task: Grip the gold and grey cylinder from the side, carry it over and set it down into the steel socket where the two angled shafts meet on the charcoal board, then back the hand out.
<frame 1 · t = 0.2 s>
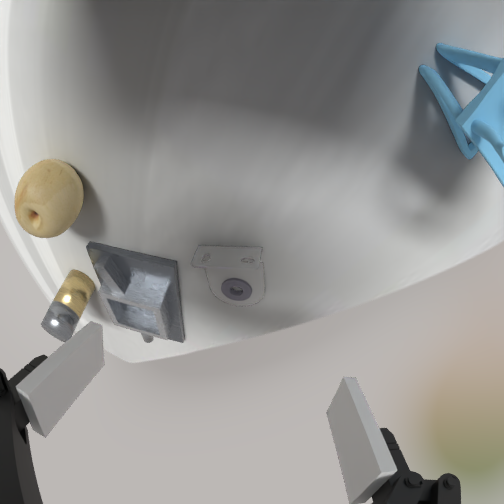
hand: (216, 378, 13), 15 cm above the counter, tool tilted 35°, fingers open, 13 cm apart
bracket: (237, 269, 32), on the counter
chair: (462, 92, 14), on the counter
gold and grey cylinder: (82, 280, 38), on the counter
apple: (67, 179, 24), on the counter
coupling board: (142, 297, 38), on the counter
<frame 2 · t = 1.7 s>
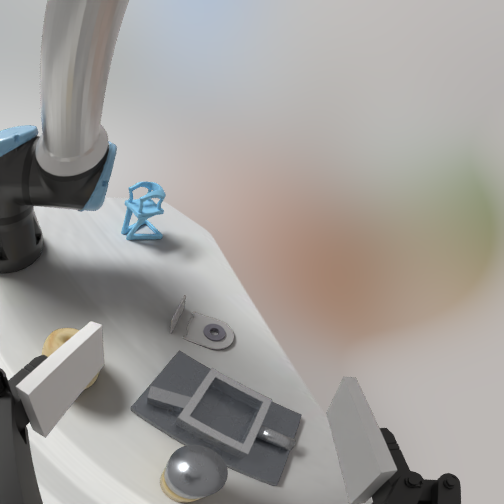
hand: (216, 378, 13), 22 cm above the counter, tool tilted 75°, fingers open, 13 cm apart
bracket: (199, 330, 45), on the counter
chair: (139, 233, 60), on the counter
gold and grey cylinder: (182, 484, 22), on the counter
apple: (74, 373, 28), on the counter
coupling board: (220, 419, 32), on the counter
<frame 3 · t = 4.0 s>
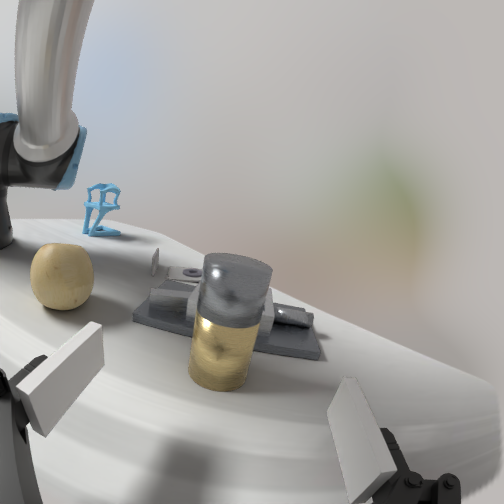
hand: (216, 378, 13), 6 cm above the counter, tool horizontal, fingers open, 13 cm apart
bracket: (178, 276, 46), on the counter
chair: (98, 234, 59), on the counter
gold and grey cylinder: (217, 372, 22), on the counter
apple: (62, 303, 26), on the counter
coupling board: (229, 319, 33), on the counter
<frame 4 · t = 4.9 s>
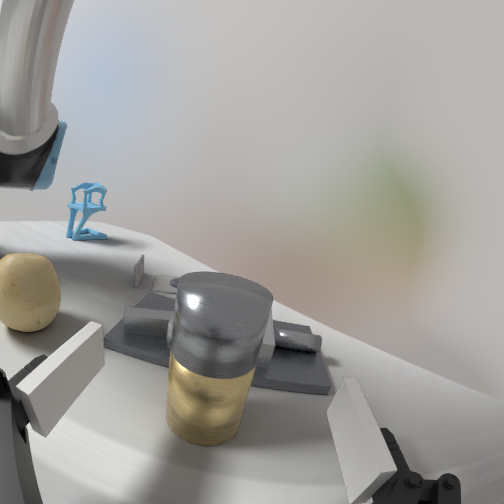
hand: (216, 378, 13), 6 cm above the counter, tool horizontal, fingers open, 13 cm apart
bracket: (165, 287, 40), on the counter
chair: (83, 237, 53), on the counter
gold and grey cylinder: (202, 419, 16), on the counter
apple: (29, 322, 20), on the counter
coupling board: (221, 343, 27), on the counter
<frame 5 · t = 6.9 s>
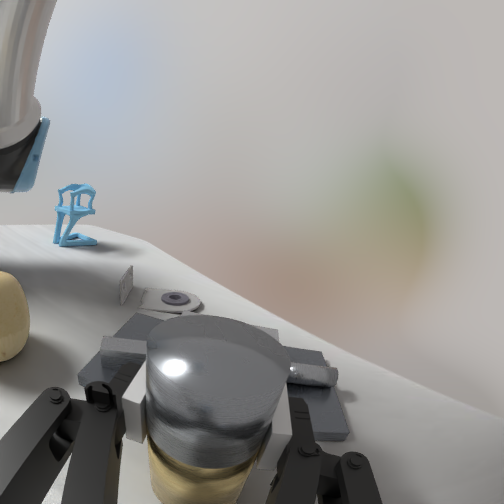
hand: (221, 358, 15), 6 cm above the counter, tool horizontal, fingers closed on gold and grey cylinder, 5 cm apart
bracket: (156, 302, 35), on the counter
chair: (72, 243, 48), on the counter
gold and grey cylinder: (195, 483, 11), on the counter, touching gripper
coupling board: (218, 377, 22), on the counter
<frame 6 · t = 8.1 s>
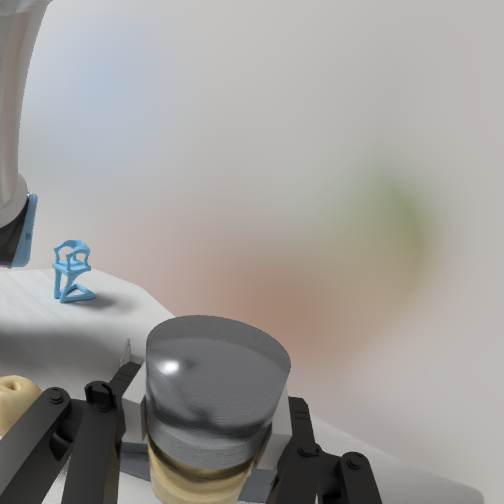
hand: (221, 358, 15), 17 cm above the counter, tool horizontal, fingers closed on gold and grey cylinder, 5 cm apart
bracket: (153, 371, 37), on the counter
chair: (71, 296, 50), on the counter
gold and grey cylinder: (195, 483, 11), point 11 cm above the counter, touching gripper
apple: (28, 431, 17), on the counter
coupling board: (204, 451, 24), on the counter
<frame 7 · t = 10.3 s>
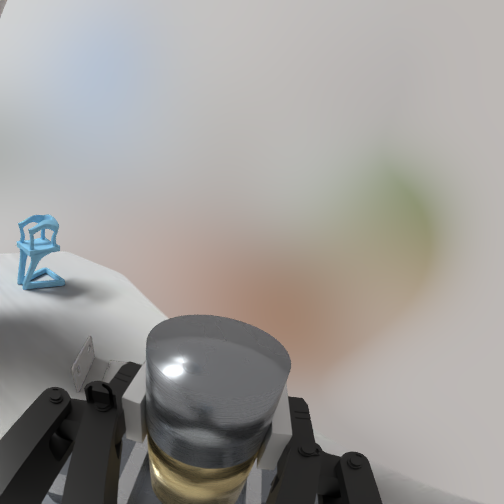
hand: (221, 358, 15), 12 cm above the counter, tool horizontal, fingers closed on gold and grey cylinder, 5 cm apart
bracket: (121, 383, 25), on the counter
chair: (38, 283, 39), on the counter
gold and grey cylinder: (195, 483, 11), point 6 cm above the counter, touching gripper
when the fingers open (8 cm above the counter, at t = 11.2 s): gold and grey cylinder drops 1 cm, resting on coupling board.
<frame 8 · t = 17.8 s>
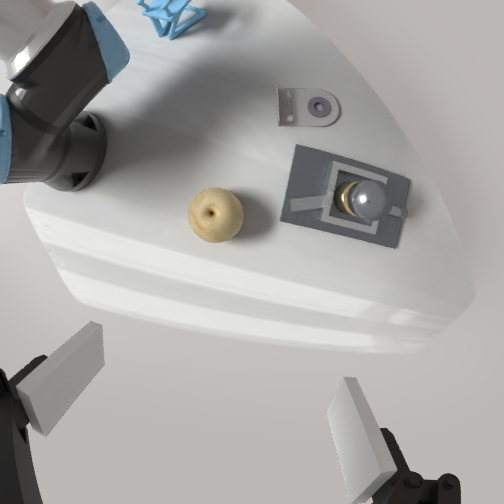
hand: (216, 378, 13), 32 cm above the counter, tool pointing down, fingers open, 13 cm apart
bracket: (303, 106, 40), on the counter
chair: (177, 23, 36), on the counter
gold and grey cylinder: (350, 198, 41), point 1 cm above the counter, touching coupling board
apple: (219, 213, 43), on the counter
coupling board: (348, 197, 42), on the counter
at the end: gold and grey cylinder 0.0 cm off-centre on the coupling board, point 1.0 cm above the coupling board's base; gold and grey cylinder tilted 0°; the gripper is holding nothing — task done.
